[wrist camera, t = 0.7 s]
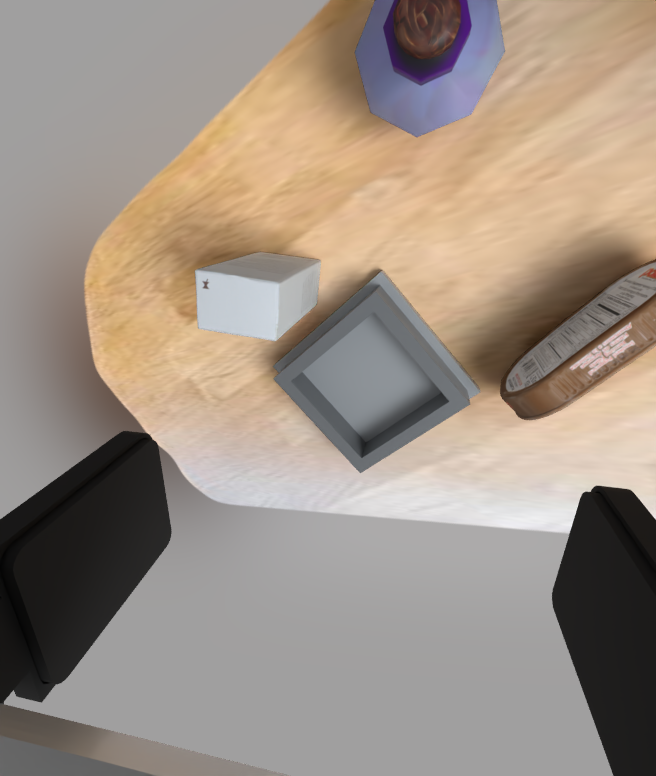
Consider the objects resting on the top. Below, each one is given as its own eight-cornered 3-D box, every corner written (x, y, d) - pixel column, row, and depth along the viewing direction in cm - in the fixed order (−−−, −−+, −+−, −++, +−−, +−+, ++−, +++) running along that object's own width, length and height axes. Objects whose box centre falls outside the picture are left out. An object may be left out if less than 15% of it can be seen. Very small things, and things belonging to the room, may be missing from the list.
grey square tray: (382, 269, 36) (377, 276, 33) (479, 387, 38) (484, 406, 35) (276, 363, 42) (261, 377, 39) (365, 460, 44) (359, 482, 41)
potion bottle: (346, 83, 31) (302, 18, 21) (442, -27, 28) (448, -174, 17) (416, 176, 33) (408, 161, 22) (516, 83, 29) (564, 11, 18)
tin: (511, 396, 38) (530, 442, 31) (487, 373, 38) (500, 414, 30) (675, 272, 32) (752, 292, 24) (648, 243, 31) (717, 254, 24)
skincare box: (258, 297, 40) (194, 329, 29) (259, 250, 38) (192, 267, 27) (319, 306, 39) (276, 343, 28) (323, 259, 37) (279, 280, 26)
